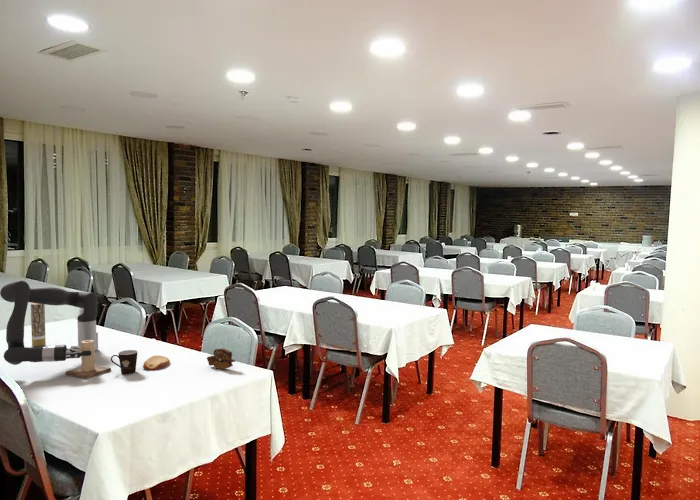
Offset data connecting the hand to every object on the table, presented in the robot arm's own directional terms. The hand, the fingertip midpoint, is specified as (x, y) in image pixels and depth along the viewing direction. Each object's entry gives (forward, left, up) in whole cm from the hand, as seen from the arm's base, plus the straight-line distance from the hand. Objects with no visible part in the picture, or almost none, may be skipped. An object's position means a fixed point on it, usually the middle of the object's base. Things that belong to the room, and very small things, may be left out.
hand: (92, 350), depth 249 cm
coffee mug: (-8, +14, -11) cm, 19 cm away
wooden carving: (-34, +51, -11) cm, 62 cm away
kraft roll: (+1, -1, -9) cm, 9 cm away
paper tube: (-21, -72, -11) cm, 76 cm away
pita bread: (-24, +16, -11) cm, 31 cm away
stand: (+1, -1, -11) cm, 11 cm away
